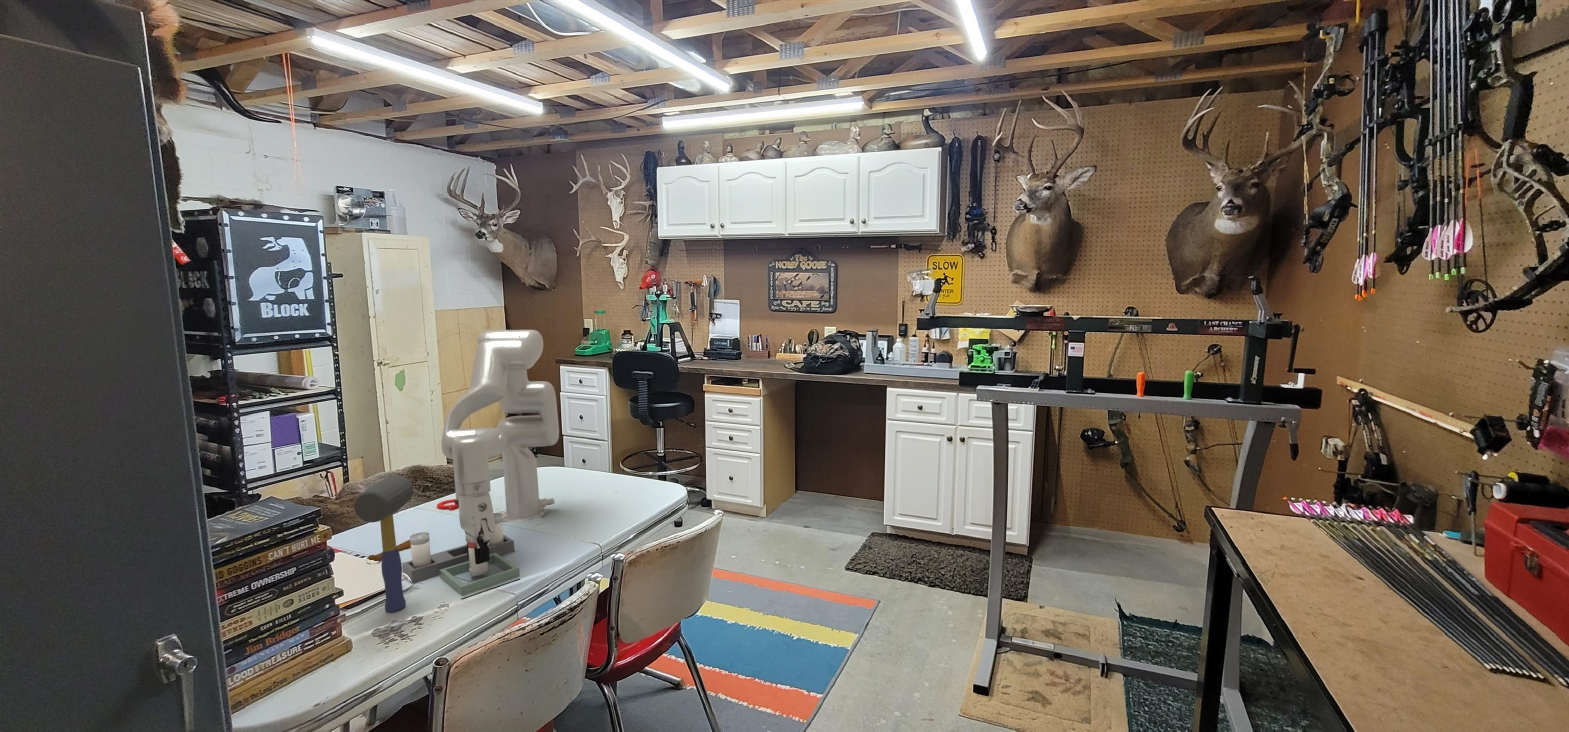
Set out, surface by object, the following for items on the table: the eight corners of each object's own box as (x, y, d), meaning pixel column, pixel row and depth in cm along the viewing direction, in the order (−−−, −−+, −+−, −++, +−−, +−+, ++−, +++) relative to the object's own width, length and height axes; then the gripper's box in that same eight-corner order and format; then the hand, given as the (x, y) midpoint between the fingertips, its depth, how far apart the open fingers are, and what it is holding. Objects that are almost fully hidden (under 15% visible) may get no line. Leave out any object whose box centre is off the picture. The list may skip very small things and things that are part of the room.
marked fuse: (484, 566, 162) (481, 527, 161) (491, 571, 159) (488, 532, 158) (466, 572, 159) (464, 532, 158) (473, 577, 156) (470, 537, 155)
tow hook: (431, 508, 213) (448, 511, 208) (427, 469, 212) (444, 472, 207) (455, 500, 220) (472, 503, 216) (451, 463, 219) (468, 465, 214)
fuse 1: (429, 568, 164) (425, 530, 163) (435, 573, 161) (431, 535, 160) (410, 574, 161) (407, 535, 160) (416, 579, 158) (412, 540, 157)
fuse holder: (503, 547, 179) (502, 533, 178) (514, 554, 174) (513, 540, 174) (403, 578, 161) (402, 562, 161) (412, 587, 157) (411, 571, 156)
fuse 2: (500, 547, 177) (498, 511, 176) (507, 551, 174) (504, 515, 173) (485, 551, 174) (482, 515, 173) (491, 556, 171) (488, 519, 170)
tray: (496, 563, 169) (495, 552, 169) (520, 579, 160) (519, 567, 159) (440, 581, 159) (439, 569, 159) (462, 599, 150) (461, 587, 150)
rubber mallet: (392, 599, 150) (380, 473, 146) (426, 597, 151) (415, 472, 147) (362, 628, 138) (348, 491, 134) (399, 626, 139) (386, 489, 135)
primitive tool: (413, 539, 187) (412, 527, 187) (431, 539, 186) (430, 528, 186) (364, 568, 168) (363, 556, 168) (384, 569, 168) (383, 556, 167)
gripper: (503, 490, 153) (509, 564, 156) (475, 476, 165) (480, 545, 167) (470, 498, 148) (476, 575, 150) (443, 483, 160) (449, 554, 162)
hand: (478, 558), depth 159 cm, fingers closed on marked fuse, 3 cm apart
